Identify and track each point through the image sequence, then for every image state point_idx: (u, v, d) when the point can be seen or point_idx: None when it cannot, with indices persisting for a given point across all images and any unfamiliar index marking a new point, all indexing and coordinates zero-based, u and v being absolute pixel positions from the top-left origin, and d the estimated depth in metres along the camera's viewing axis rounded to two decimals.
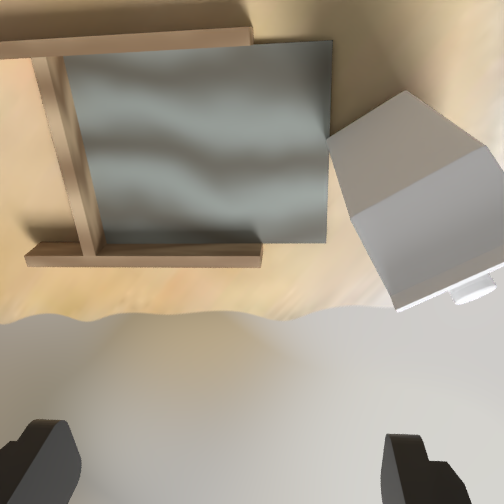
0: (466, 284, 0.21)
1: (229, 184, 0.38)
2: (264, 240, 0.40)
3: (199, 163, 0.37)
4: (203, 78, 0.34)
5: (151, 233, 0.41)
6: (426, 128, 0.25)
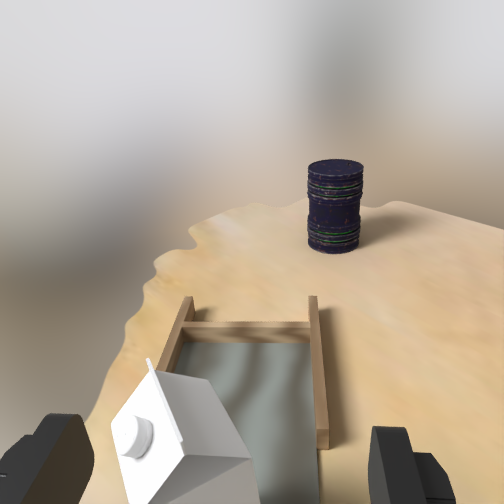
0: (143, 420, 0.25)
1: None
2: None
3: (231, 403, 0.47)
4: (293, 412, 0.46)
5: (184, 367, 0.53)
6: None
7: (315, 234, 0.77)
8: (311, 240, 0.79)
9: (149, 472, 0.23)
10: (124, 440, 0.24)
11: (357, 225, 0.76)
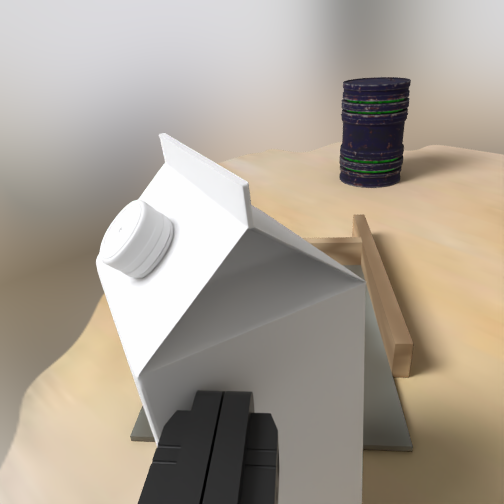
0: (155, 209, 0.13)
1: None
2: None
3: None
4: None
5: None
6: None
7: (350, 164, 0.65)
8: (345, 173, 0.67)
9: (168, 288, 0.11)
10: (117, 238, 0.12)
11: (400, 153, 0.65)
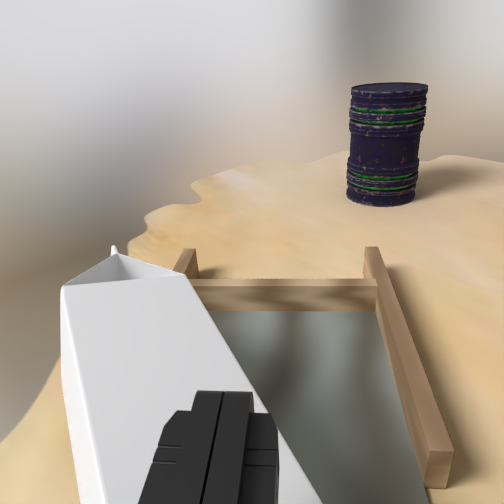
0: None
1: None
2: None
3: None
4: (368, 418, 0.26)
5: None
6: None
7: (359, 180, 0.58)
8: (352, 190, 0.60)
9: None
10: None
11: (416, 168, 0.57)
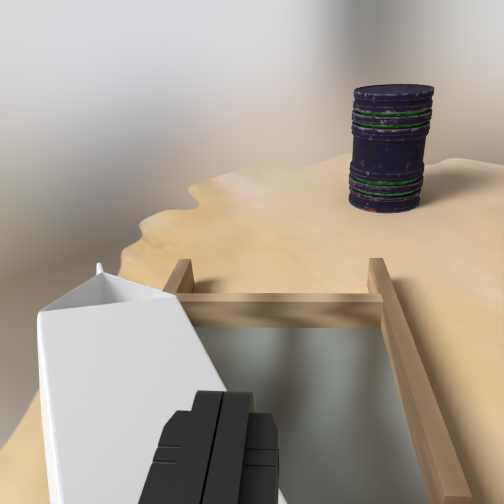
0: None
1: None
2: None
3: None
4: (375, 451, 0.24)
5: None
6: None
7: (362, 185, 0.56)
8: (355, 196, 0.58)
9: None
10: None
11: (421, 173, 0.55)
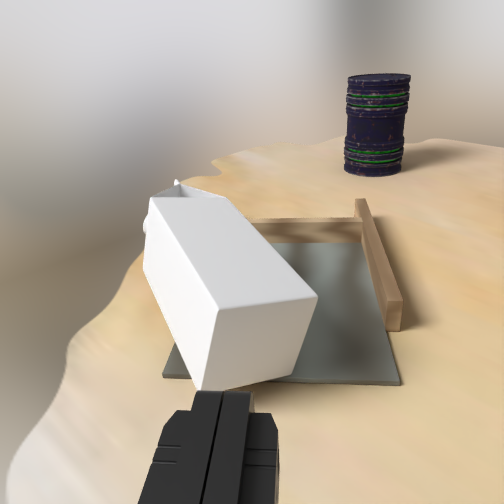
0: None
1: None
2: None
3: None
4: (351, 298, 0.38)
5: None
6: None
7: (354, 155, 0.70)
8: (348, 163, 0.72)
9: None
10: None
11: (401, 144, 0.69)
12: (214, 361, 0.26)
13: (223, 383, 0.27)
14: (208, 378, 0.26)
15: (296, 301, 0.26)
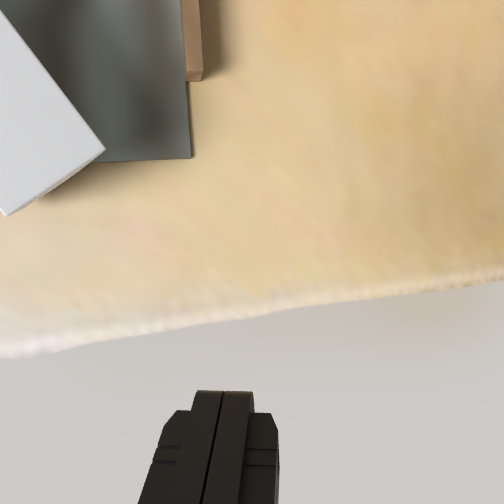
0: None
1: (28, 42, 0.31)
2: None
3: (52, 5, 0.31)
4: (151, 23, 0.32)
5: None
6: None
7: None
8: None
9: None
10: None
11: None
12: None
13: None
14: None
15: (84, 164, 0.26)
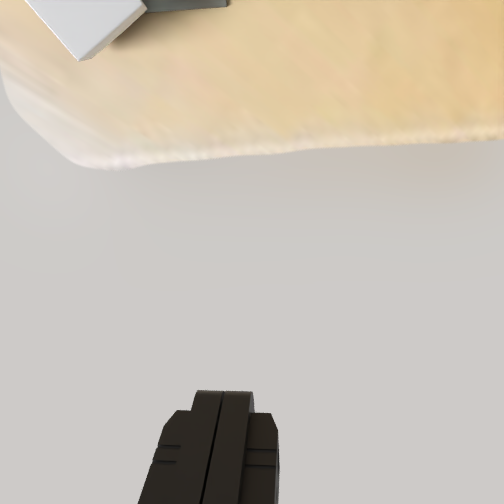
0: None
1: None
2: None
3: None
4: None
5: None
6: None
7: None
8: None
9: None
10: None
11: None
12: (91, 56, 0.38)
13: (102, 49, 0.40)
14: (92, 56, 0.39)
15: (127, 18, 0.34)
